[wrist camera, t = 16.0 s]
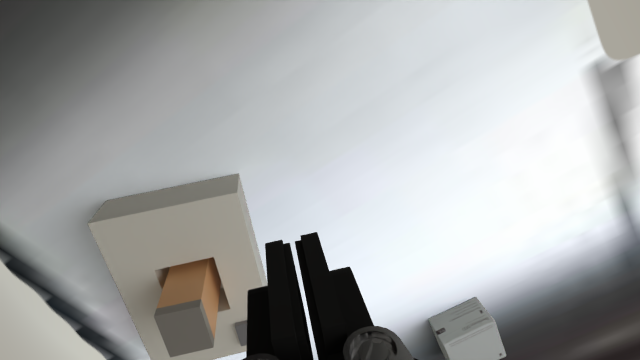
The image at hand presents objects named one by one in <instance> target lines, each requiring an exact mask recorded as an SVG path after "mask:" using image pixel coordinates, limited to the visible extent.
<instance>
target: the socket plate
mask: <svg viewBox="0 0 640 360" xmlns="http://www.w3.org/2000/svg"><path fill="white" fill-rule="evenodd" d="M88 226H89V228H90V230H91V232H92V234H93V236H94V239H95V241H96V243H97V245H98V247H99V249H100V251H101V254H102V256H103V258H104V260H105V262H106V264H107V266H108V269H109V271H110V273H111V275H112V277H113V279H114V281H115V284H116V286H117V288H118V290H119V292H120V294H121V296H122V299H123V301H124V303H125V305H126V307H127V309H128V311H129V314H130V316H131V318H132V320H133V322H134V324H135V326H136V329H137V331H138V333H139V335H140V337H141V339H142V341H143V344H144V346H145V348H146V350H147V352H148V354H149V356H150V359H151V360H213V359H217V358H221V357H225V356H229V355H233V354H237V353H241V352H245V351H247V294H248V290H250V289H255V288H259V287H263V286H268V283H267V279H266V276H265V272H264V268H263V264H262V260H261V256H260V253H259V249H258V245H257V241H256V237H255V233H254V230H253V226H252V222H251V218H250V214H249V210H248V207H247V203H246V199H245V195H244V191H243V187H242V184H241V180H240V176H239V174H234V175H230V176H225V177H220V178H215V179H210V180H205V181H200V182H195V183H190V184H185V185H180V186H176V187H171V188H166V189H161V190H156V191H151V192H146V193H141V194H136V195H131V196H127V197H122V198H117V199H112V200H107V201H106V202H105V203H104V204H103V205H102V207H101V208H100V209H99V210H98V211H97V213H96V214H95V215H94V216H93V218H92V219H91V220H90V221H89V222H88ZM211 257H214V259H215V263H216V266H217V269H218V272H219V276H220V279H221V287H220V296H219V304H218V313H217V322H216V330H215V339H214V347H213V348H210V349H205V350H201V351H196V352H192V353H188V354H183V355H179V356H175V357H170V356H169V353H168V351H167V348H166V346H165V343H164V341H163V338H162V336H161V333H160V331H159V329H158V326H157V324H156V321H155V319H154V314H155V311H156V308H157V305H158V302H159V299H160V296H161V293H162V290H163V287H164V284H165V281H166V278H167V275H168V272H169V269H170V267H171V266H175V265H180V264H184V263H189V262H193V261H198V260H202V259H207V258H211Z"/></svg>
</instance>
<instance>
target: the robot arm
mask: <svg viewBox="0 0 640 360" xmlns="http://www.w3.org/2000/svg"><path fill="white" fill-rule="evenodd" d="M295 245H296V250H297V255H298V260H299V265H300V270H301V275H302V280H303V285H304V290H305V296H306V301H307V306H308V311H309V316H310V321H311V326H312V331H313V336H314V340H315V345H316V350H317V355H318V359H319V360H417V359H415V358H413V357H412V355H411V354H410V353H409V351H408V350H407V348H406V347H405V345H404V344H403V342H402V341H401V339H400V338H399V337H398V336H397V335H396V334H395V333H394V332H392V331H390V330H389V329H387V328H383V327H379V326H374V325H373V323H372V320H371V318H370V315H369V313H368V310H367V308H366V305H365V303H364V300H363V298H362V295H361V293H360V290H359V288H358V285H357V283H356V280H355V278H354V275H353V273H352V270H351V268H350V267H345V268H341V269H337V270H332V271H329V269H328V266H327V263H326V260H325V256H324V253H323V250H322V247H321V243H320V240H319V237H318V234H317V232H315V233H311V234H306V235H301V240H300V241H295ZM265 248H266V264H267V281H268V286H263V287H259V288H255V289H250V290H248V294H247V357H246V358H245V359H243V360H313V354H312V349H311V343H310V338H309V333H308V327H307V322H306V316H305V311H304V306H303V302H302V297H301V293H300V288H299V283H298V279H297V274H296V270H295V265H294V261H293V256H292V251H291V247H290V243H286V244H283V241H282V240H279V241H274V242H270V243H266V244H265Z"/></svg>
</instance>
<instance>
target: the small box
mask: <svg viewBox="0 0 640 360" xmlns="http://www.w3.org/2000/svg"><path fill="white" fill-rule="evenodd" d="M428 321H429V323H430V325H431V328H432V330H433V332H434V335H435V337H436V339H437V342H438V344H439V346H440V349H441V351H442V353H443V355H444V357H445V358H446V360H499V359H501V358H503V357H505V356H506V353H505V350H504V347H503V344H502V341H501V338H500V335H499V332H498V329H497V326H496V323H495V320H494V319H493V318H492V317H491V315H490V314H489V313H488V312H487V310H486V309H485V308H484V307H483V305H482V304H481V303H480V301H479V300H478V299H477V297H474V298H472V299H470V300H468V301H466V302H464V303H462V304H460V305H458V306H455V307H453V308H451V309H449V310H447V311H445V312H442V313H440V314H438V315H436V316H433V317H431V318H429V319H428Z"/></svg>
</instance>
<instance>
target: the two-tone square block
mask: <svg viewBox="0 0 640 360" xmlns="http://www.w3.org/2000/svg"><path fill="white" fill-rule="evenodd" d="M220 287H221V279H220V276H219V272H218V269H217V266H216V263H215V259H214V257H211V258H207V259H202V260H198V261H193V262H189V263H184V264H180V265H175V266H171V267H170V269H169V272H168V275H167V278H166V281H165V284H164V287H163V290H162V293H161V296H160V299H159V302H158V305H157V308H156V311H155V314H154V319H155V321H156V324H157V326H158V329H159V331H160V333H161V336H162V338H163V341H164V343H165V346H166V348H167V351H168V353H169V356H170V357H175V356H179V355H183V354H188V353H192V352H196V351H201V350H205V349H210V348H213V347H214V339H215V330H216V322H217V313H218V304H219V296H220Z"/></svg>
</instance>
